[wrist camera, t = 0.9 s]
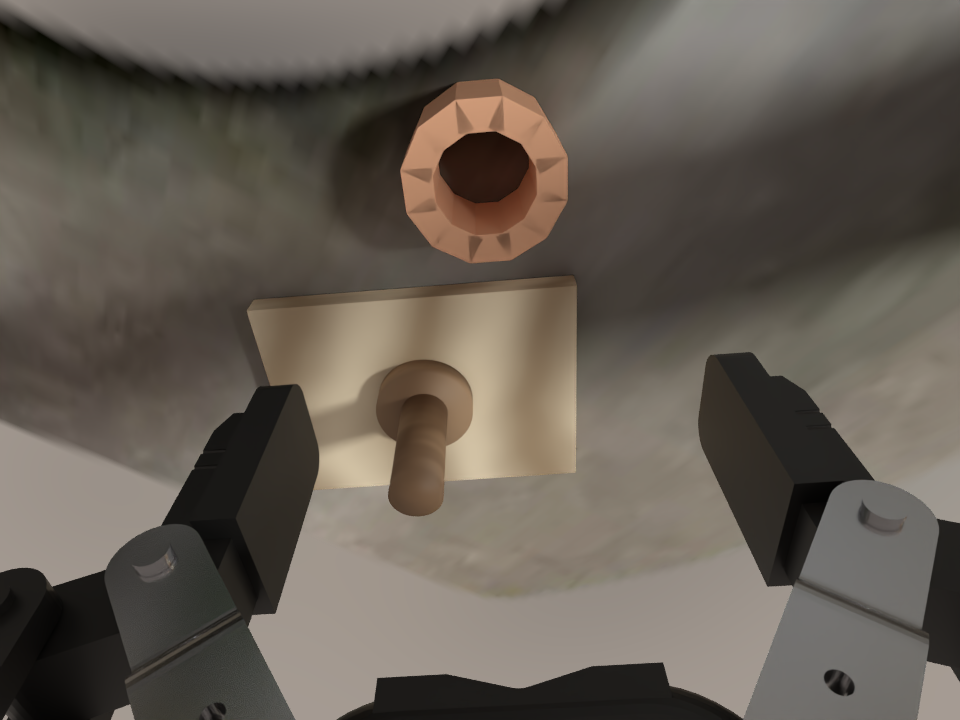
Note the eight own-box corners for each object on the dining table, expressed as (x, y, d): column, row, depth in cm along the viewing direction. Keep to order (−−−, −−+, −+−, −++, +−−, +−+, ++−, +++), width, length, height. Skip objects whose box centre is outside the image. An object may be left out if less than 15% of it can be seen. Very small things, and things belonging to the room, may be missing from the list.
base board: (573, 275, 31) (577, 285, 30) (572, 458, 37) (575, 472, 36) (253, 299, 31) (246, 310, 30) (308, 476, 38) (303, 490, 37)
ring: (554, 73, 26) (567, 89, 22) (556, 221, 29) (567, 255, 26) (401, 86, 26) (390, 105, 22) (420, 232, 29) (414, 267, 26)
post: (468, 356, 32) (467, 449, 26) (476, 432, 34) (477, 532, 28) (371, 363, 32) (347, 457, 26) (386, 438, 34) (368, 539, 28)
